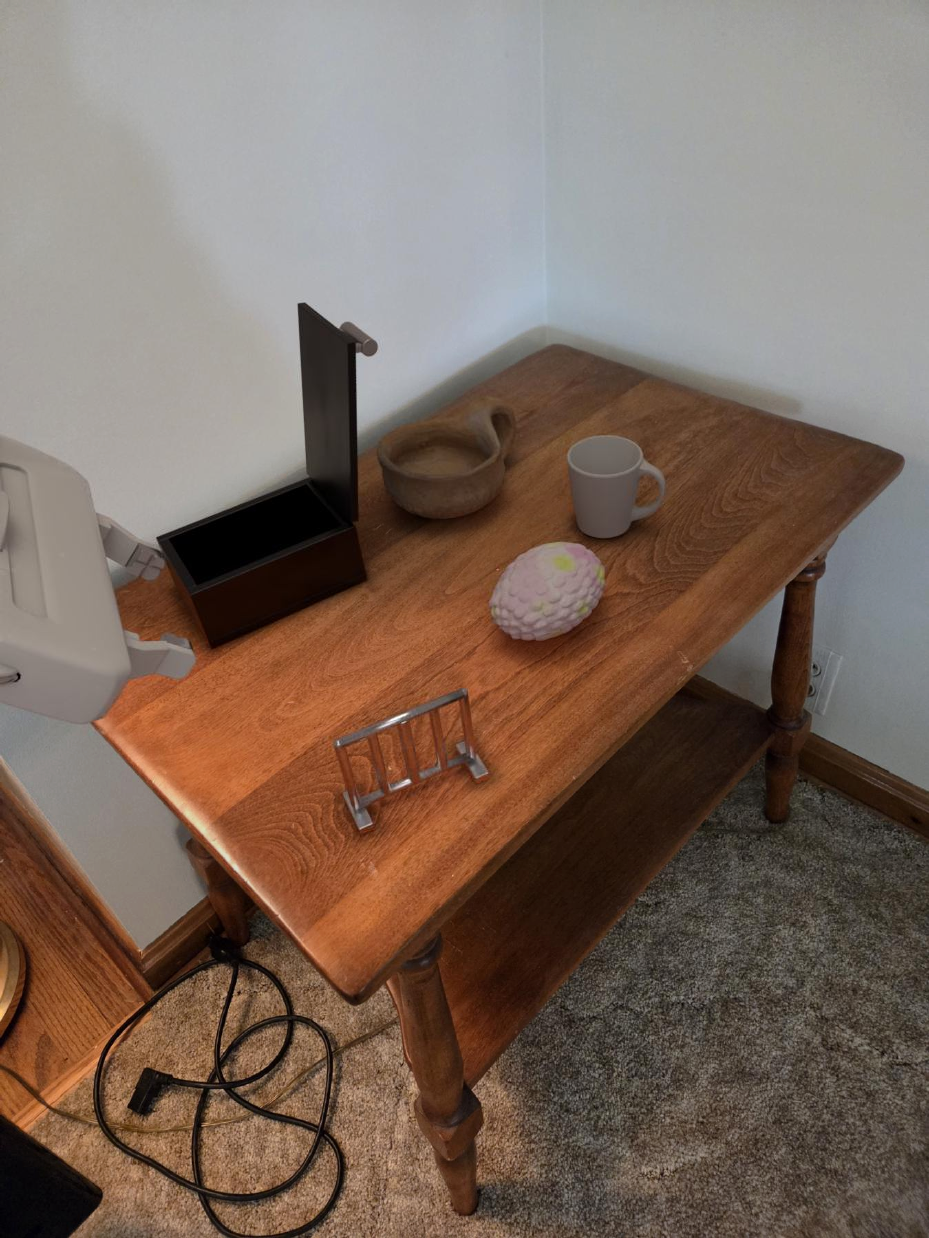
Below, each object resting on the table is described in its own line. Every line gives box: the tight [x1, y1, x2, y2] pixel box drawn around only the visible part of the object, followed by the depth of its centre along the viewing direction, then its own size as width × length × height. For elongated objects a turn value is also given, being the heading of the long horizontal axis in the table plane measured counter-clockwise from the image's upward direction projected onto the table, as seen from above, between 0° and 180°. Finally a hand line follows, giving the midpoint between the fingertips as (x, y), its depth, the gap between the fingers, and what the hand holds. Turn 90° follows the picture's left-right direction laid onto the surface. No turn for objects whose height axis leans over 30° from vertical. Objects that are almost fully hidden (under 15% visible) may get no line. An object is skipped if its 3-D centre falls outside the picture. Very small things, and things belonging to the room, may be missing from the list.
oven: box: [155, 476, 368, 650], centre depth 92 cm, size 17×11×7 cm, turn 121°
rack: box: [332, 687, 491, 836], centre depth 70 cm, size 11×4×9 cm, turn 115°
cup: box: [566, 434, 667, 539], centre depth 93 cm, size 8×10×8 cm
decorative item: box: [488, 541, 606, 642], centre depth 84 cm, size 9×11×10 cm
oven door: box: [296, 302, 379, 523], centre depth 87 cm, size 18×11×4 cm
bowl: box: [376, 396, 517, 520], centre depth 101 cm, size 18×14×10 cm
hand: (173, 610), depth 53 cm, fingers open, 8 cm apart
